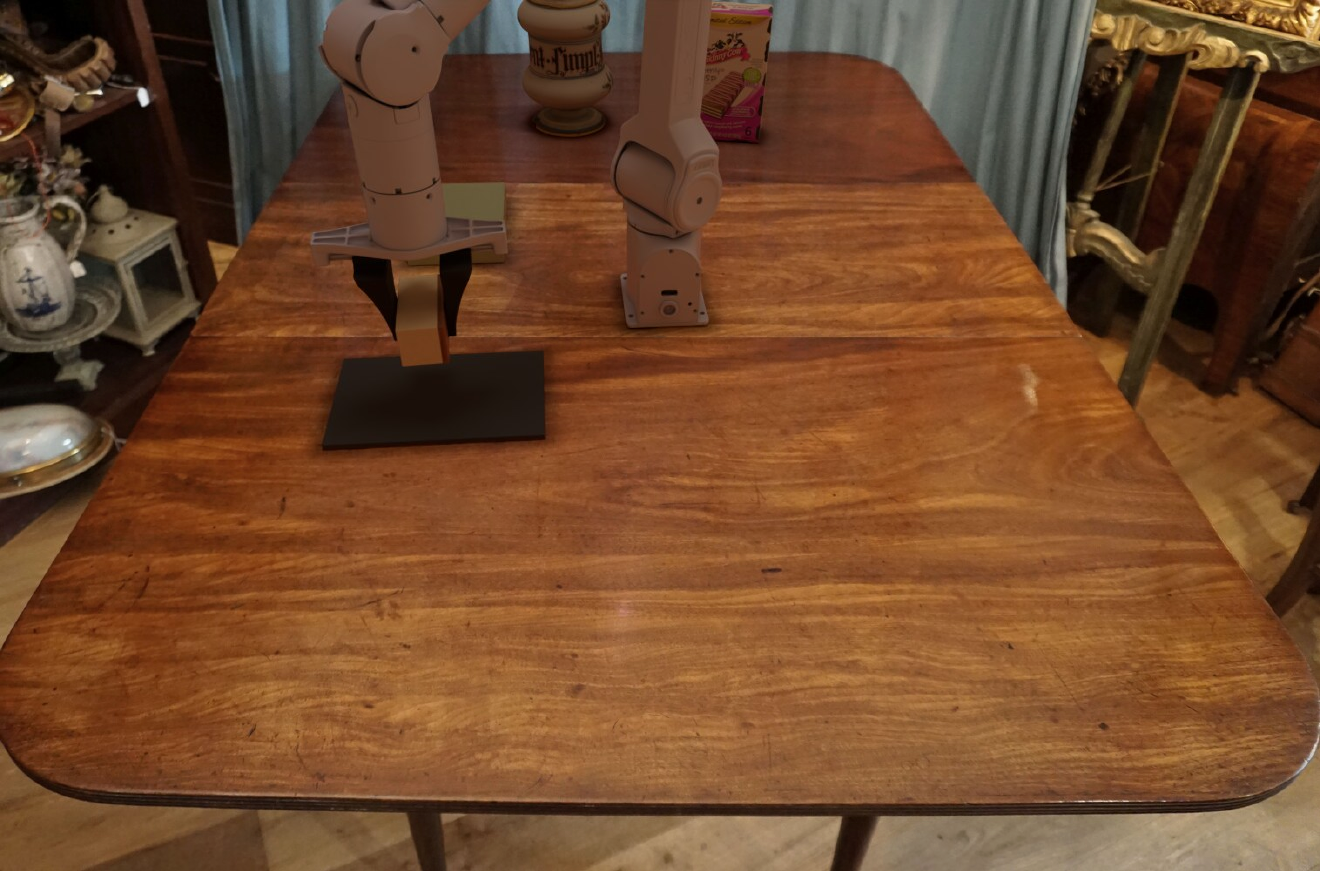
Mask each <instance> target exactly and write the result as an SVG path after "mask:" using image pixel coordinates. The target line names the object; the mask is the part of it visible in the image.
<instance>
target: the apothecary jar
mask: <svg viewBox="0 0 1320 871" xmlns="http://www.w3.org/2000/svg"><path fill="white" fill-rule="evenodd" d="M516 11H517V12H516V19H517V21H518V24H519V26H520V27H521V29H523V30H524V31H525V32H526V33H527V37H528V38H527V39H528V50H529V64H528V66H527V67H526V68H525V70H524V72H523V74H522V78H521V85H522V88H523V90H524V92H525V93H526V94H527V96H528V97H529V98H530V99H531V100H532V101H533V102H535V103H537V104H539V105H541V106H543V107H545V108H543V109H541V110H539V111H538V112H536V113H535V115H534V116H533V119H532V123H534V124H535V125H536V126H535V127H536V130H538V131H540V132H541V133H544V134H546V135H551V136H554V137H561V138H562V137H563V138H576V137H583V136H588V135H591V134H595V133H597V132H598V131H600V130H601V129H603V128H604V126H605V125H606V117H605V115H604V114H603V113H602V112H601V111H599V110H597V109H595V108H593V107H591V106H594V105H596V104H598V103H599V102H601V101H602V100H603V99H605V98H606V97H607V96H608V95H609V94H610V92H611V91H612V90H613V86H614V76H613V73H612V70H611V69H610V68H609V66H608V65H607V64H606V63H605V62H604V56H603V55H604V54H603V41H602V40H603V38H602V36H603V35H602V31H604V29H606V28H607V27H608V25H609V23H610V20H611V10H610V7H609V5H608V3H606V1H605V0H522V1H521V3H520V4H519V6H518V8H517V10H516Z"/></svg>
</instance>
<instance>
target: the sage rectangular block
mask: <svg viewBox="0 0 1320 871" xmlns="http://www.w3.org/2000/svg"><path fill="white" fill-rule="evenodd" d="M441 185H442V192H443V200H444V207H445V214H446V216H450V217H459V218H468V219H477V220H504V221H505V227H506V228H507V210H508V199H507V198H508V196H507V186H506V181H504V182H503V181H502V182H501V181H500V182H497V181H496V182H459V183H457V182H456V183H455V182H453V183H441ZM505 255H506V254H494V251H477V252H472V264H497V263H499V264H500V263H501V264H502V263H505V258H506V256H505ZM439 260H440V255H436V256H432V257H428V258H423V259H418V260H409V261H407V265H408V266H433V265H434V266H435V265H439Z"/></svg>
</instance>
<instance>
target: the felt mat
mask: <svg viewBox="0 0 1320 871" xmlns="http://www.w3.org/2000/svg"><path fill="white" fill-rule="evenodd" d="M449 358H450V362H449V363H439V364H427V365H415V366H402V362H401V357H400V355H399V356H397V355H395V356H376V357H375V356H374V357H351V358H343V361H342V365H341V369H340V373H339V377H338V380H337V384H336V388H335V392H334V396H333V399H332V403H331V408H330V412H329V414H328V415H329V416H328V419H327V423H326V427H325V430H324V435H323V438H322V442H321V448H322V450H323V451H324V450H327V451H328V450H345V449H364V448H365V449H366V448H387V447H401V446H402V447H404V446H408V447H409V446H427V445H442V444H443V445H444V444H445V445H447V444H465V443H485V442H505V441H506V442H507V441H525V440H526V441H527V440H529V441H530V440H546V403H545V402H546V401H545V400H546V398H545V396H546V394H545V352H544V350H525V351H524V350H523V351H521V350H519V351H499V352H498V351H497V352H496V351H495V352H473V353H472V352H471V353H449Z"/></svg>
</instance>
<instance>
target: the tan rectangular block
mask: <svg viewBox="0 0 1320 871" xmlns="http://www.w3.org/2000/svg"><path fill="white" fill-rule="evenodd" d="M397 298H398V299H397V315H396V336H397V341H396V342H397V344H398V345H397V346H398V350H399V351H398V352H399V356H400V357H401V362H402V366H415V365H427V364H439V363H449V362H450V358H449V354H450V337H449V336H448V331H447V325H446V307H445V300H444V294H443V289H442V284H441V279H440V273H438V274H428V275H426V274H425V275H413V276H400V277H398V284H397Z"/></svg>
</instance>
